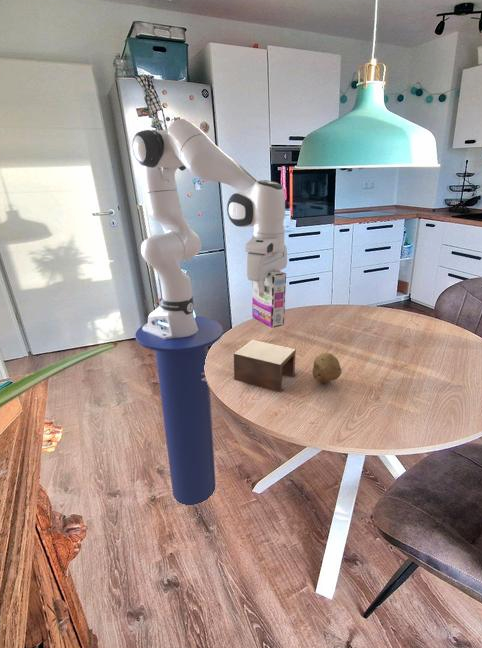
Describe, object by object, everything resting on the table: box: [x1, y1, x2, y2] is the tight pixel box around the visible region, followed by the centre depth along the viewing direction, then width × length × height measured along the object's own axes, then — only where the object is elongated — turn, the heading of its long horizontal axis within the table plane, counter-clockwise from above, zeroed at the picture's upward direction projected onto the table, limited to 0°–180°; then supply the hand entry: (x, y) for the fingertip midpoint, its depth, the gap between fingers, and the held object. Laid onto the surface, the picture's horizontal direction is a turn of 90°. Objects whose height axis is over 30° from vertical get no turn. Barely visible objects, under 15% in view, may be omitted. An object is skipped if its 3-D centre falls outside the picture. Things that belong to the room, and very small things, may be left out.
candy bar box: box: [251, 270, 287, 329], centre depth 118 cm, size 11×5×16 cm, turn 38°
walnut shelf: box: [233, 339, 297, 393], centre depth 125 cm, size 16×12×9 cm
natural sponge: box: [311, 352, 343, 383], centre depth 123 cm, size 9×9×10 cm
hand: (268, 288), depth 117 cm, fingers closed on candy bar box, 6 cm apart
